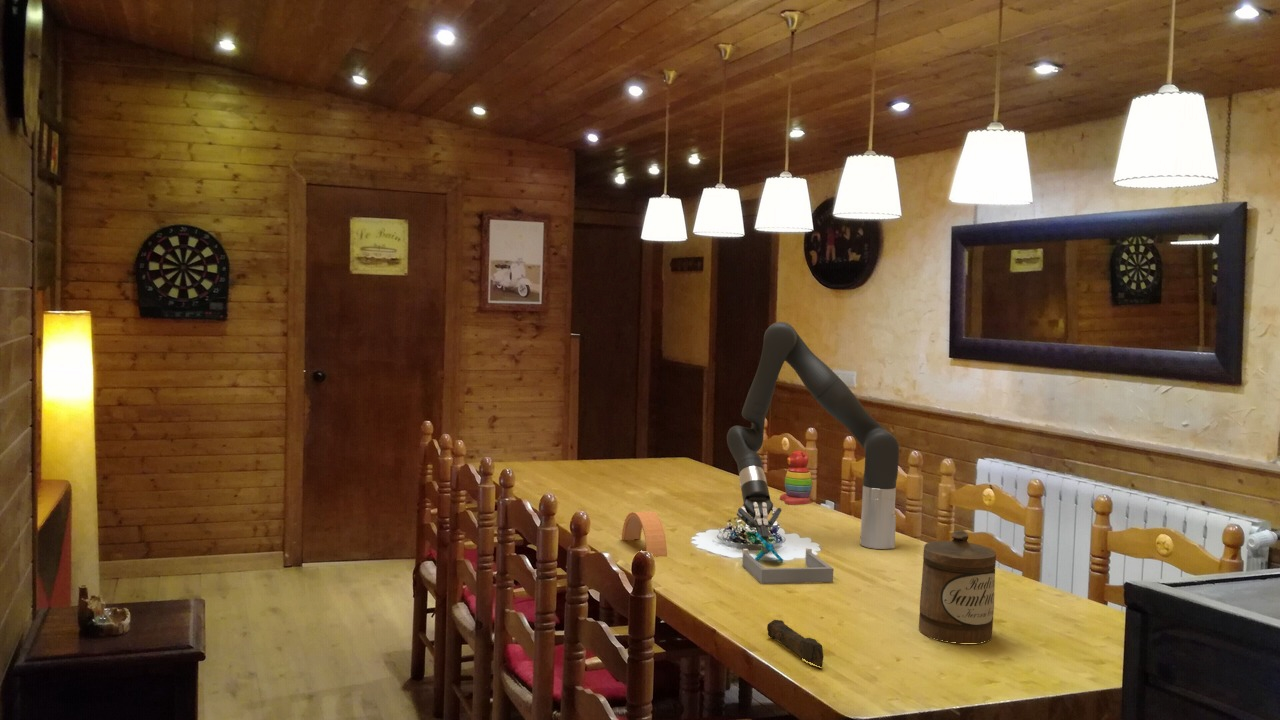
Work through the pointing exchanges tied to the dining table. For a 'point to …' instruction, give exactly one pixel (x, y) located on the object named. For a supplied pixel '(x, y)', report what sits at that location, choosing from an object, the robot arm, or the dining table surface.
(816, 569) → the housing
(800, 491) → the stacking bear
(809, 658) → the dark brown rough bar
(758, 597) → the dining table surface
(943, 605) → the wooden container
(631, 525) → the arch
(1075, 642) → the dining table surface
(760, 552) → the teal crossed bars
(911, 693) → the dining table surface
